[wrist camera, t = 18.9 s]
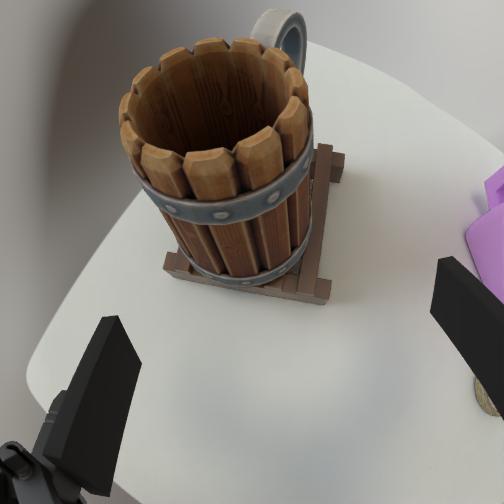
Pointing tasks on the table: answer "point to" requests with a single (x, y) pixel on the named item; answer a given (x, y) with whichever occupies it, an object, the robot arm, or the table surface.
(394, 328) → the table surface
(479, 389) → the bracelet
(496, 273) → the teapot
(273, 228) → the mug
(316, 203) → the drying rack
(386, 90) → the table surface
